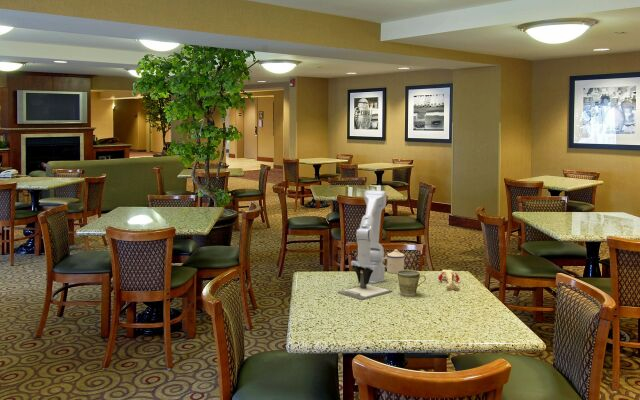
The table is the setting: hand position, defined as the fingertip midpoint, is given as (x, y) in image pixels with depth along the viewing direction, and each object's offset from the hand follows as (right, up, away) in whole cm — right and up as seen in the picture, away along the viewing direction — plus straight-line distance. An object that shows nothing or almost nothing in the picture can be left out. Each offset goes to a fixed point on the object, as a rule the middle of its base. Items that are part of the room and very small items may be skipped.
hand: (363, 283), depth 275 cm
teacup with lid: (+18, +1, +36) cm, 40 cm away
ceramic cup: (+21, -4, -7) cm, 22 cm away
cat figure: (+42, -3, +12) cm, 44 cm away
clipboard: (0, -4, -4) cm, 6 cm away
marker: (0, -2, 0) cm, 2 cm away
